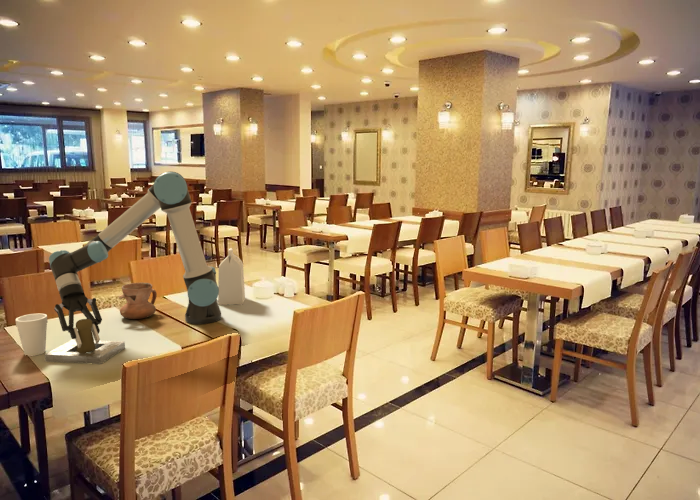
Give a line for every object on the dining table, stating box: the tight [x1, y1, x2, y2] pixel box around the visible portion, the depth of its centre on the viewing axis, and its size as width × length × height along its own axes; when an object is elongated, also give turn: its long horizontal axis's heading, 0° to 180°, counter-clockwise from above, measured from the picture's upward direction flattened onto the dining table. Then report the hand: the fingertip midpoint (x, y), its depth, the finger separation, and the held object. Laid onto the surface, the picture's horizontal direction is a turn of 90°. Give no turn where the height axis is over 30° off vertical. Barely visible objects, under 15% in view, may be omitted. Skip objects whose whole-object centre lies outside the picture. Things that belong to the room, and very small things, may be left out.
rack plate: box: [44, 338, 126, 365], centre depth 176 cm, size 20×15×2 cm
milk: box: [217, 247, 246, 306], centre depth 244 cm, size 12×12×26 cm
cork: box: [75, 318, 96, 353], centre depth 175 cm, size 6×6×11 cm
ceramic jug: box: [118, 282, 157, 320], centre depth 219 cm, size 18×14×14 cm
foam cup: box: [15, 312, 48, 357], centre depth 176 cm, size 10×9×13 cm
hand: (89, 343), depth 173 cm, fingers closed on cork, 5 cm apart
